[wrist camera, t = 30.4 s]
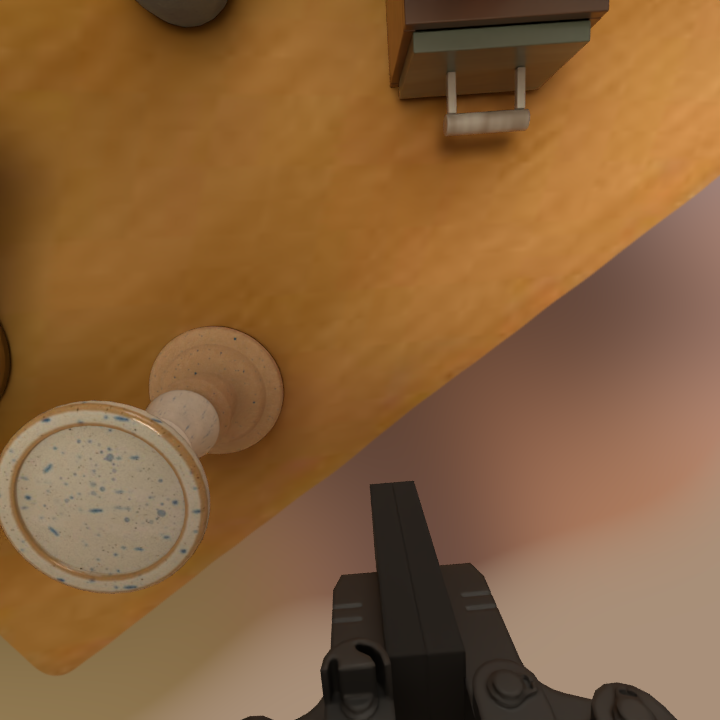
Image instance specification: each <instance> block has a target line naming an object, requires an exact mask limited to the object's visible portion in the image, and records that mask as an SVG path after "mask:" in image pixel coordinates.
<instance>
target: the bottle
mask: <svg viewBox="0 0 720 720" xmlns="http://www.w3.org/2000/svg"><path fill="white" fill-rule="evenodd" d="M136 1H137V2H138V3H139V4H140V5H141V6H142V7H143V8H145V9H147V10H148V11H150V12H151V13H153V14H154V15H156V16H157V17H159V18H161V19H162V20H164V21H166V22H168V23H170V24H174V25H178V26H182V27H192V26H201V25H203V24H204V23H206V22H208V21H210V20H212V19H214V18H215V17H216V16H217V15H218V14H219V13H220V11H221V10H222V9H223V8H224V7H225V5H226V2H227V0H136Z"/></svg>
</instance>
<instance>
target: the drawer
mask: <svg viewBox="0 0 720 720" xmlns="http://www.w3.org/2000/svg"><path fill="white" fill-rule="evenodd" d="M559 21H560V20H554V21H540V22H525V23H510V24H496V25H481V26H466V27H452V28H437V29H423V30H416V31H415V32H414V33H413V34H412V38H411V41H410V45H409V48H408V52H407V56H406V59H405V63H404V66H403V70H402V74H401V77H400V81H399V98H400V99H406V98H420V97H434V96H447V114H446V115H445V117H444V123H443V131H444V135H445V136H455V135H469V134H483V133H497V132H512V131H525V130H526V129H527V128H528V126H529V122H530V112H529V110H528V109H524V108H525V90H534V89H539V88H540V87H541V86H542V85H543V84H544V83H545V82H546V81H547V80H548V79H549V78H550V77H551V76H553V75H554V74H555V73H556V72H557V71H558V70H559V69H560V68H561V67H562V66H563V65H564V64H565V63H567V62H568V61H569V60H570V59H571V58H572V57H573V56H574V55H575V54H576V53H577V52H578V51H579V50H581V49H582V48H583V47H584V46H585V45H586V44H587V43H588V42H589V41H590V29H591V21H590V20H587V21H572V22H559ZM506 91H515V110H503V111H488V112H474V113H460V114H456V112H457V106H456V95H463V94H477V93H491V92H506Z"/></svg>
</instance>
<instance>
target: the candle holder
mask: <svg viewBox="0 0 720 720" xmlns="http://www.w3.org/2000/svg"><path fill="white" fill-rule="evenodd" d="M149 396H150V401H151V403H150V404H149V405H148V407H147V408H146V410H145V411H144V410H142V409H139V408H136V407H133V406H130V405H126V404H121V403H116V402H111V401H96V400H92V401H81V402H73V403H69V404H65V405H61V406H57V407H55V408H52V409H50V410H48V411H45V412H43V413H41V414H40V415H38V416H37V417H35V418H34V419H32V420H31V421H29V422H28V423H26V424H25V425H24V426H22V427H21V428H20V429H19V430H18V431H17V432H16V433H15V434H14V435H13V436H12V438H11V439H10V440H9V442H8V443H7V444H6V446H5V447H4V449H3V451H2V453H1V455H0V525H1V527H2V529H3V531H4V533H5V535H6V537H7V538H8V539H9V541H10V542H11V544H12V545H13V547H14V548H15V549H16V550H17V551H18V552H19V554H20V555H21V556H22V557H23V558H24V559H25V560H26V561H27V562H29V563H30V564H31V565H32V566H33V567H35V568H36V569H37V570H38V571H40V572H42V573H43V574H45V575H47V576H48V577H50V578H51V579H53V580H56V581H58V582H60V583H62V584H65V585H67V586H70V587H73V588H77V589H80V590H84V591H89V592H95V593H111V594H115V593H126V592H132V591H137V590H141V589H145V588H147V587H150V586H152V585H155V584H157V583H159V582H161V581H163V580H165V579H166V578H168V577H170V576H171V575H173V574H174V573H175V572H176V571H178V570H179V569H180V568H181V567H182V566H183V565H184V564H185V563H186V562H187V561H188V560H189V558H190V557H191V556H192V555H193V554H194V552H195V551H196V549H197V548H198V546H199V544H200V543H201V541H202V539H203V536H204V534H205V531H206V528H207V525H208V520H209V514H210V491H209V486H208V480H207V477H206V474H205V472H204V469H203V466H202V464H201V462H200V460H199V458H201V457H203V456H204V455H206V454H207V453H210V454H227V453H233V452H238V451H241V450H244V449H246V448H249V447H251V446H252V445H254V444H256V443H257V442H259V441H260V440H261V439H262V438H263V437H265V436H266V435H267V433H268V432H269V431H270V430H271V429H272V428H273V426H274V424H275V423H276V421H277V419H278V417H279V414H280V411H281V408H282V403H283V383H282V378H281V375H280V371H279V369H278V367H277V365H276V363H275V361H274V359H273V358H272V356H271V355H270V354H269V352H268V351H267V350H266V349H265V348H264V347H263V346H262V345H261V344H260V343H258V342H257V341H256V340H255V339H253V338H252V337H250V336H248V335H246V334H245V333H242V332H240V331H237V330H235V329H231V328H226V327H217V326H209V327H200V328H196V329H192V330H189V331H187V332H185V333H182V334H180V335H179V336H177V337H176V338H174V339H173V340H172V341H170V342H169V343H168V344H167V345H166V346H165V347H164V348H163V349H162V351H161V352H160V353H159V355H158V356H157V358H156V360H155V362H154V364H153V367H152V370H151V373H150V380H149Z"/></svg>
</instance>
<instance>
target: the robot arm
mask: <svg viewBox="0 0 720 720" xmlns="http://www.w3.org/2000/svg"><path fill="white" fill-rule="evenodd" d="M9 369H10V356H9V348H8V344H7V340H6V337H5V334H4V331H3V329H2V327H1V325H0V397H1V395H2V393H3V391H4V389H5V387H6V384H7V381H8V376H9ZM370 493H371V506H372V520H373V532H374V533H373V534H374V547H375V559H376V569H377V572H372V573H360V574H348V575H341V577H340V579H339V581H338V582H337V584H336V586H335V588H334V590H333V610H332V611H333V612H332V632H331V649H330V651H329V652H328V653H327V655H326V656H325V657H324V660H323V663H322V667H321V670H320V671H321V680H322V688H323V697H322V699H321V700H320V702H319V703H318V704H317V705H316V706H315V707H314V708H313V709H312V710H311V711H310V712H309V713H307V714H306V715H303V716H302V717H300V718H298V719H296V720H677V719H676V718H675V717H674V716H673V715H672V714H671V713H670V712H669V711H668V710H667V709H666V708H665V707H664V706H663V705H662V704H661V703H659V702H658V701H657V700H656V699H655V698H653V697H652V696H651V695H650V694H648V693H646V692H644V691H642V690H640V689H638V688H636V687H634V686H631V685H627V684H622V683H610V684H604V685H602V686H601V687H600V688H598V689H597V690H596V691H595V693H594V696H593V699H587V698H583V697H579V696H574V695H570V694H566V693H563V692H560V691H556V690H553V689H551V688H549V687H548V686H546V685H544V684H542V683H541V682H539V681H538V680H537V678H536V677H535V675H534V674H533V673H532V672H531V671H529V670H528V669H527V668H526V667H524V665H523V663H522V662H521V660H520V658H519V656H518V653H517V651H516V649H515V646H514V644H513V642H512V640H511V637H510V635H509V633H508V630H507V628H506V626H505V624H504V621H503V619H502V617H501V615H500V612H499V610H498V608H497V607H496V603H495V601H494V599H493V596H492V595H491V591H490V589H489V587H488V585H487V582H486V580H485V578H484V576H483V575H482V574H481V573H480V572H479V571H478V570H477V569H476V568H475V567H474V566H473V565H472V564H471V563H465V564H453V565H440V566H439V562H438V559H437V556H436V553H435V549H434V546H433V543H432V539H431V536H430V533H429V530H428V526H427V523H426V520H425V517H424V514H423V510H422V507H421V503H420V500H419V497H418V494H417V490H416V487H415V484H414V481H406V482H394V483H383V484H370ZM242 720H272V719H270V718H267V717H265V716H250V717H247V718H245V719H242Z"/></svg>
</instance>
